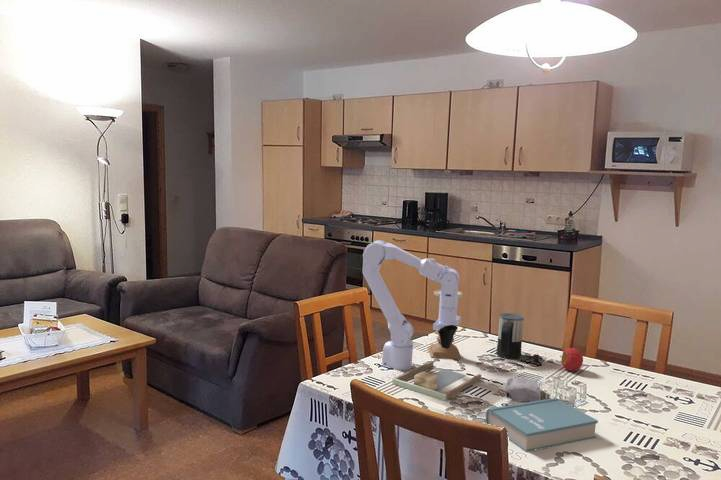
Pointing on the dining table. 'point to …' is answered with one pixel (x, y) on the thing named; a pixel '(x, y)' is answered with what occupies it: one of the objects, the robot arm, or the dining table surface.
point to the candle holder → (437, 349)
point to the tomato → (572, 359)
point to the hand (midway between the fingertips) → (445, 347)
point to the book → (542, 423)
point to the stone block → (523, 389)
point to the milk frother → (512, 337)
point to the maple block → (426, 380)
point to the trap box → (443, 380)
